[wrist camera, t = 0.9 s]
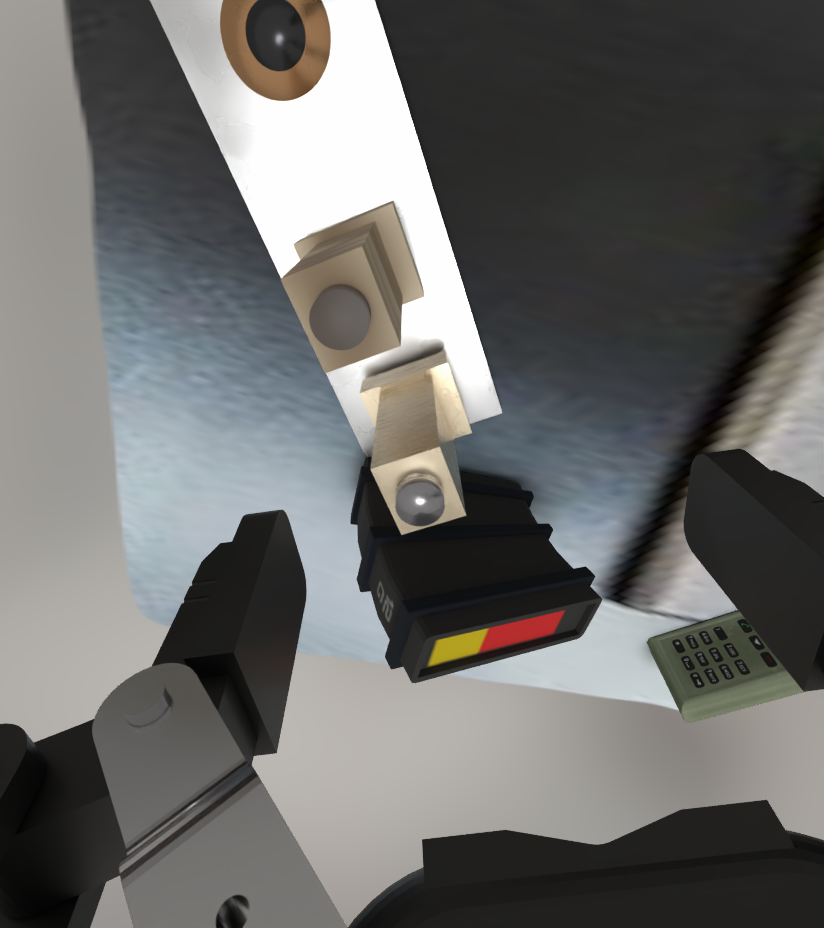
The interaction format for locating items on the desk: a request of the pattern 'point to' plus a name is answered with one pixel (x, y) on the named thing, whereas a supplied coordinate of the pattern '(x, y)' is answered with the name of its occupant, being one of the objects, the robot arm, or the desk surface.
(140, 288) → the desk surface
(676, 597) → the desk surface
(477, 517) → the black boxy piece
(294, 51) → the bolt-hole plate
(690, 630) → the handheld radio
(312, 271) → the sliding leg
